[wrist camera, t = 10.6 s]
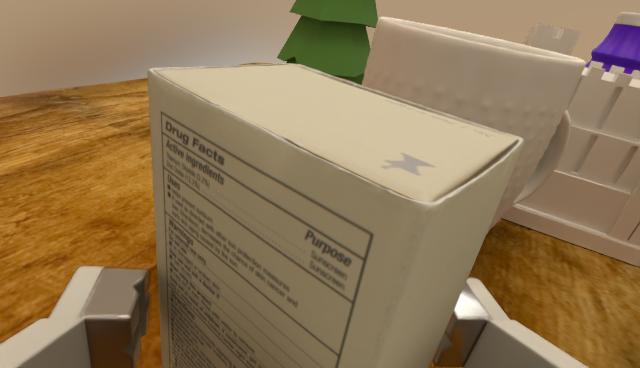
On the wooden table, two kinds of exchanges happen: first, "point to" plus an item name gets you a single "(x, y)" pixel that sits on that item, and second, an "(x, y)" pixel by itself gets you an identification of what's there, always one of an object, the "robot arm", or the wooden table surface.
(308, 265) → the cosmetic box
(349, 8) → the decorative tree
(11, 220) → the wooden table surface
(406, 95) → the mug
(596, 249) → the castle model
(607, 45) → the bottle
